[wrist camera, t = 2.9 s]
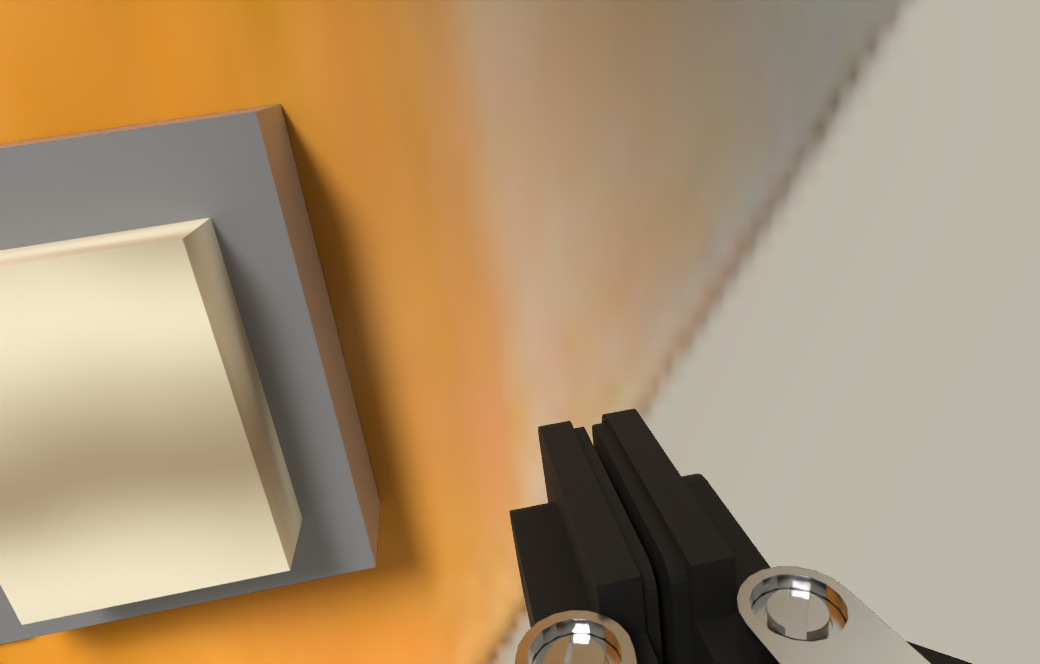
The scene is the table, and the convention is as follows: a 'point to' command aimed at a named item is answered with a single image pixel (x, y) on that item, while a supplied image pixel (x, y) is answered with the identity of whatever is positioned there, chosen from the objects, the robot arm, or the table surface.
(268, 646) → the table surface
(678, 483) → the robot arm
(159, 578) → the birch tile
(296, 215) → the grey flat square block
